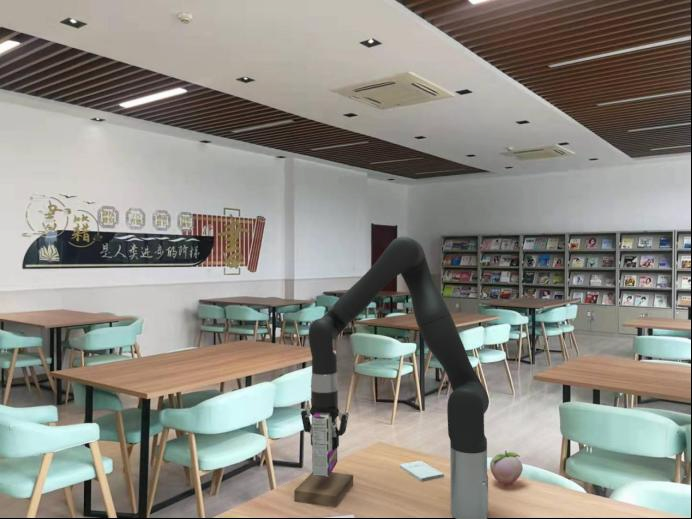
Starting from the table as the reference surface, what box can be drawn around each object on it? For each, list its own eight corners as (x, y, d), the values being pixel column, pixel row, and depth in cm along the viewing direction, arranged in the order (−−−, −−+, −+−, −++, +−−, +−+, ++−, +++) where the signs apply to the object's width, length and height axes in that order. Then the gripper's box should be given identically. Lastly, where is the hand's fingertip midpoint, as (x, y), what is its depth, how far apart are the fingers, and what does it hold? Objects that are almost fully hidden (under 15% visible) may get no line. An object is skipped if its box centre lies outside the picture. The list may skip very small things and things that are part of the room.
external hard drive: (421, 483, 160) (399, 469, 171) (444, 479, 163) (421, 464, 174) (421, 478, 160) (399, 463, 171) (444, 473, 163) (421, 459, 174)
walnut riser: (353, 485, 157) (353, 474, 157) (335, 507, 143) (335, 496, 143) (315, 479, 161) (315, 469, 161) (294, 501, 147) (294, 490, 147)
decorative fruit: (506, 476, 163) (505, 443, 163) (527, 486, 156) (527, 451, 156) (483, 483, 158) (483, 449, 158) (504, 493, 151) (504, 457, 151)
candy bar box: (321, 461, 158) (321, 405, 158) (337, 462, 157) (337, 406, 157) (311, 476, 147) (310, 416, 147) (328, 477, 146) (328, 417, 146)
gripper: (352, 387, 154) (353, 446, 154) (306, 383, 158) (306, 441, 158) (344, 393, 146) (344, 455, 146) (295, 389, 151) (296, 450, 151)
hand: (324, 448), depth 152 cm, fingers closed on candy bar box, 5 cm apart
